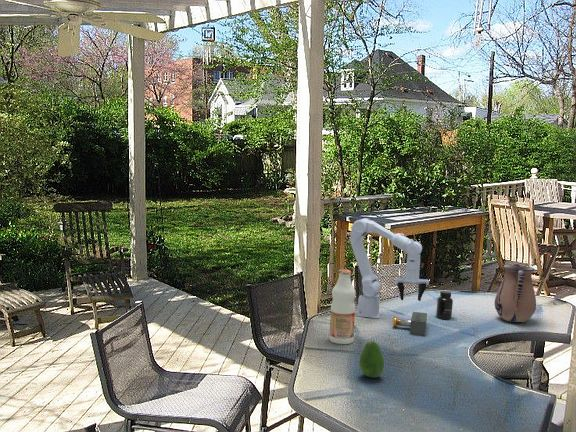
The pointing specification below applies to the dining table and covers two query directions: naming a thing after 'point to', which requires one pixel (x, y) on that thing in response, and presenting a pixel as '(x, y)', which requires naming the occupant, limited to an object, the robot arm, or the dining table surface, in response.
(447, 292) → the supplement bottle
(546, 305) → the dining table surface
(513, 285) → the ceramic pitcher
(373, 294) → the robot arm
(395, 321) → the lynch pin
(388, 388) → the dining table surface
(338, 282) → the fruit juice
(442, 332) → the dining table surface
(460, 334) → the dining table surface
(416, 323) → the hitch beam
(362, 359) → the avocado
